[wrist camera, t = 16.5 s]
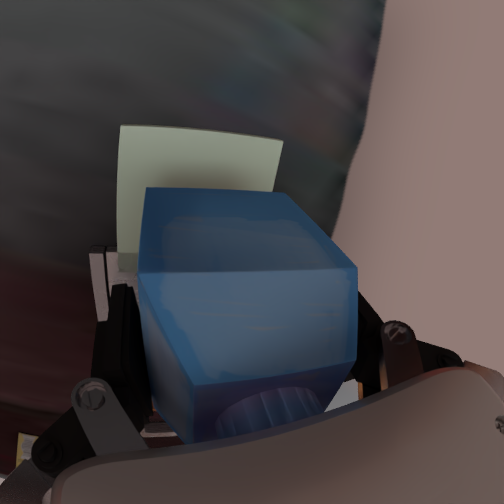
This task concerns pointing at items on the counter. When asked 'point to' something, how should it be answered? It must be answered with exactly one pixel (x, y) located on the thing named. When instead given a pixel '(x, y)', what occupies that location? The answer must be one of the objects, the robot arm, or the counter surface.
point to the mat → (185, 169)
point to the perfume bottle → (241, 311)
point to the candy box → (24, 447)
